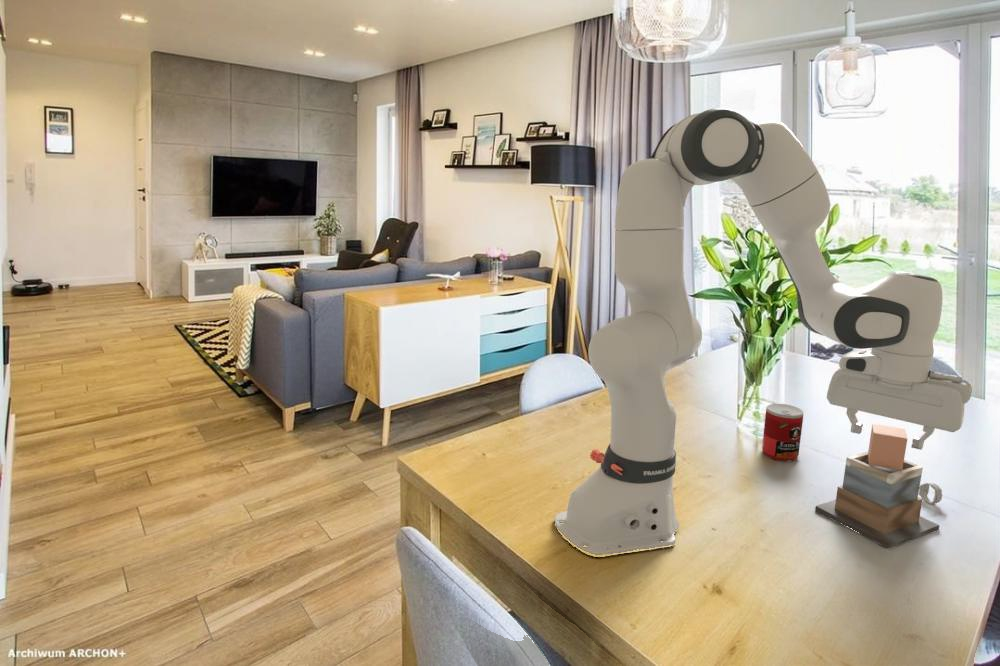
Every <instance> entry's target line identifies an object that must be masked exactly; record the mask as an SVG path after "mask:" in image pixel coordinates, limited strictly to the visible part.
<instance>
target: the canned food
mask: <svg viewBox="0 0 1000 666" xmlns="http://www.w3.org/2000/svg"><path fill="white" fill-rule="evenodd" d="M764 417H765V418H764V427H763V434H762V435H763V437H762V446H761V448H762V453H763V454H764V455H765V456H766V457H768V458H770V459H771V460H772V459H773V460H775V461H776V460H777V461H781V462H793V461H796V460H797V459H798V456H799V455H800V445H801V440H802V439H801V437H802V430H803V429H802V428H803V422H804V410H802V409H801V408H799V407H797V406H793V405H790V404H785V403H771V404H768V405H767V406H766V409H765V416H764Z"/></svg>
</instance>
